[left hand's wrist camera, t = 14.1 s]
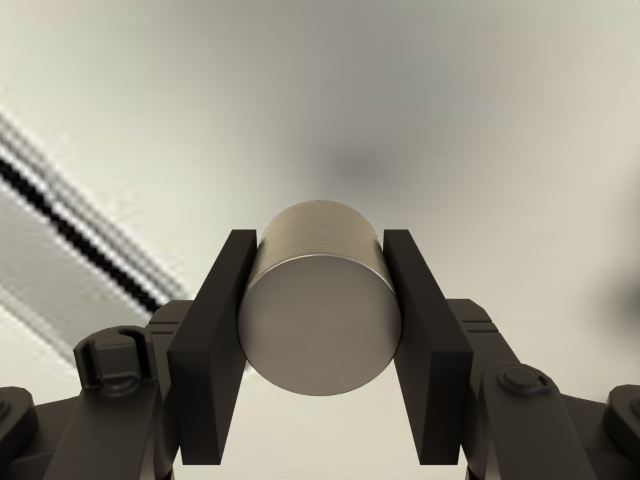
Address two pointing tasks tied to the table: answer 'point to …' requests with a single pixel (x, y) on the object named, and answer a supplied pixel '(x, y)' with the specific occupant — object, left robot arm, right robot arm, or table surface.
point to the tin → (319, 302)
